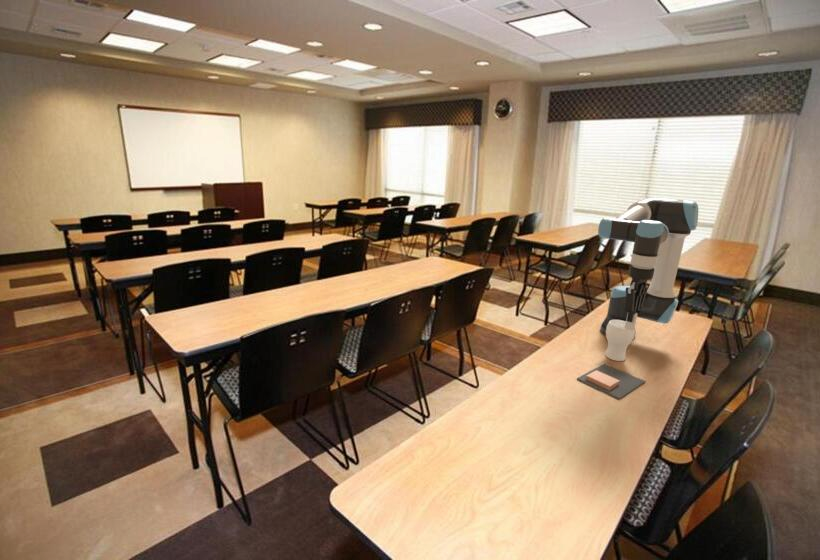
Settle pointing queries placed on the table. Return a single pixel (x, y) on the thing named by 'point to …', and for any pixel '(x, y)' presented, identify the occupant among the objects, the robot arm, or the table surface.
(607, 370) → the mat
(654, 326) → the table surface
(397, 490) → the table surface
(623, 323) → the cup
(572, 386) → the table surface
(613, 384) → the slab
